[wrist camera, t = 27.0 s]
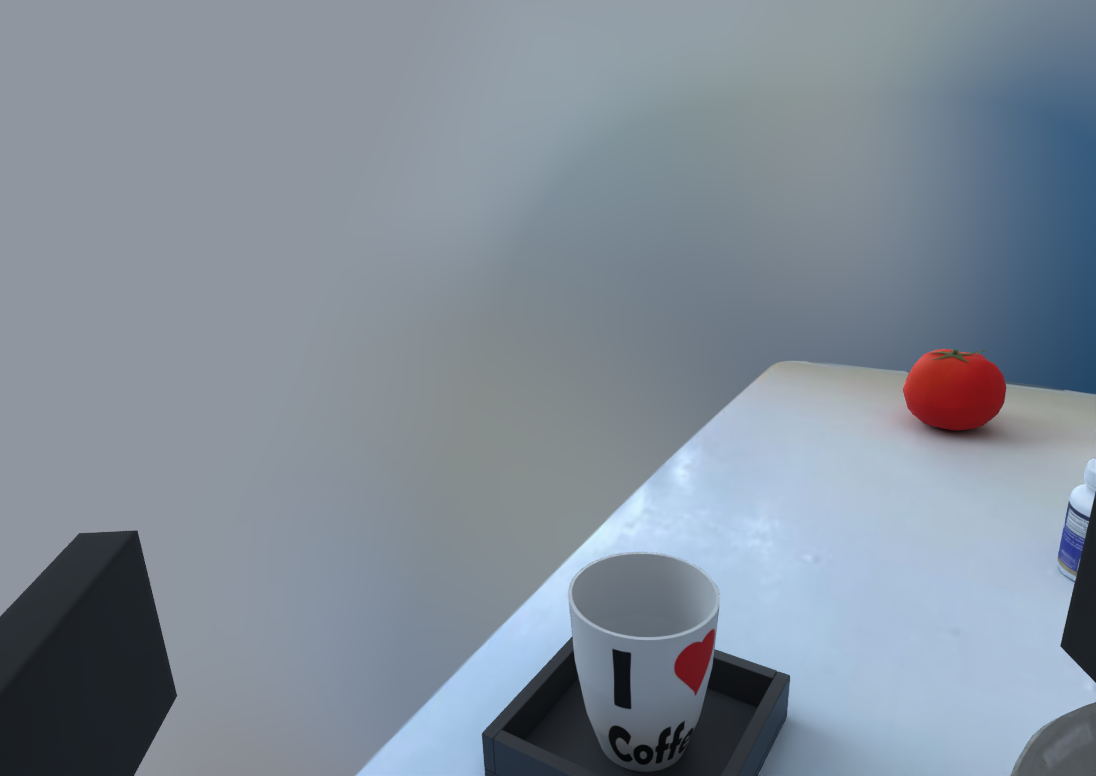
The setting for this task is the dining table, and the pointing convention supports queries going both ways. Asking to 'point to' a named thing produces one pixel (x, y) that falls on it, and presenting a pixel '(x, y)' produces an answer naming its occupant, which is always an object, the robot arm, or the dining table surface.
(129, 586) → the robot arm
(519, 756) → the shallow square tray
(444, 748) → the dining table surface
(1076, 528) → the pill bottle
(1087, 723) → the ceramic bowl
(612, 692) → the cup
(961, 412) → the tomato
